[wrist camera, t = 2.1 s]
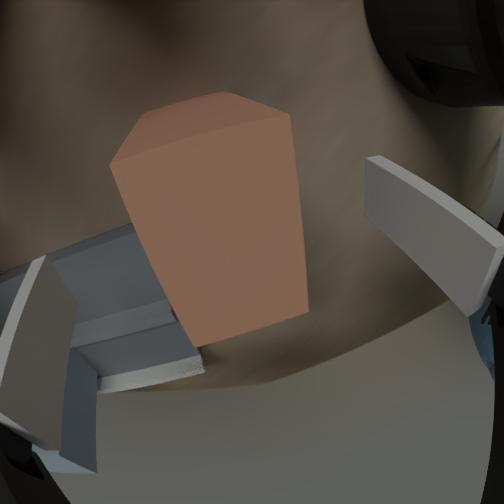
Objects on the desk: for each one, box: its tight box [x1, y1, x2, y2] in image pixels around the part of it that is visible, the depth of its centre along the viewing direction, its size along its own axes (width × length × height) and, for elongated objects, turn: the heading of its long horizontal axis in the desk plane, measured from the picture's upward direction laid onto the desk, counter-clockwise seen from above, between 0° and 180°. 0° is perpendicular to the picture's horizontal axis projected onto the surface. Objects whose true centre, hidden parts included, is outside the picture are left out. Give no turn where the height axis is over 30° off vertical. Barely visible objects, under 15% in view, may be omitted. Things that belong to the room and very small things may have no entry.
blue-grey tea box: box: [32, 347, 98, 473], centre depth 19 cm, size 5×8×11 cm, turn 101°
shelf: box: [0, 223, 205, 395], centre depth 22 cm, size 20×15×3 cm
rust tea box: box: [109, 91, 309, 348], centre depth 14 cm, size 5×8×11 cm, turn 11°
